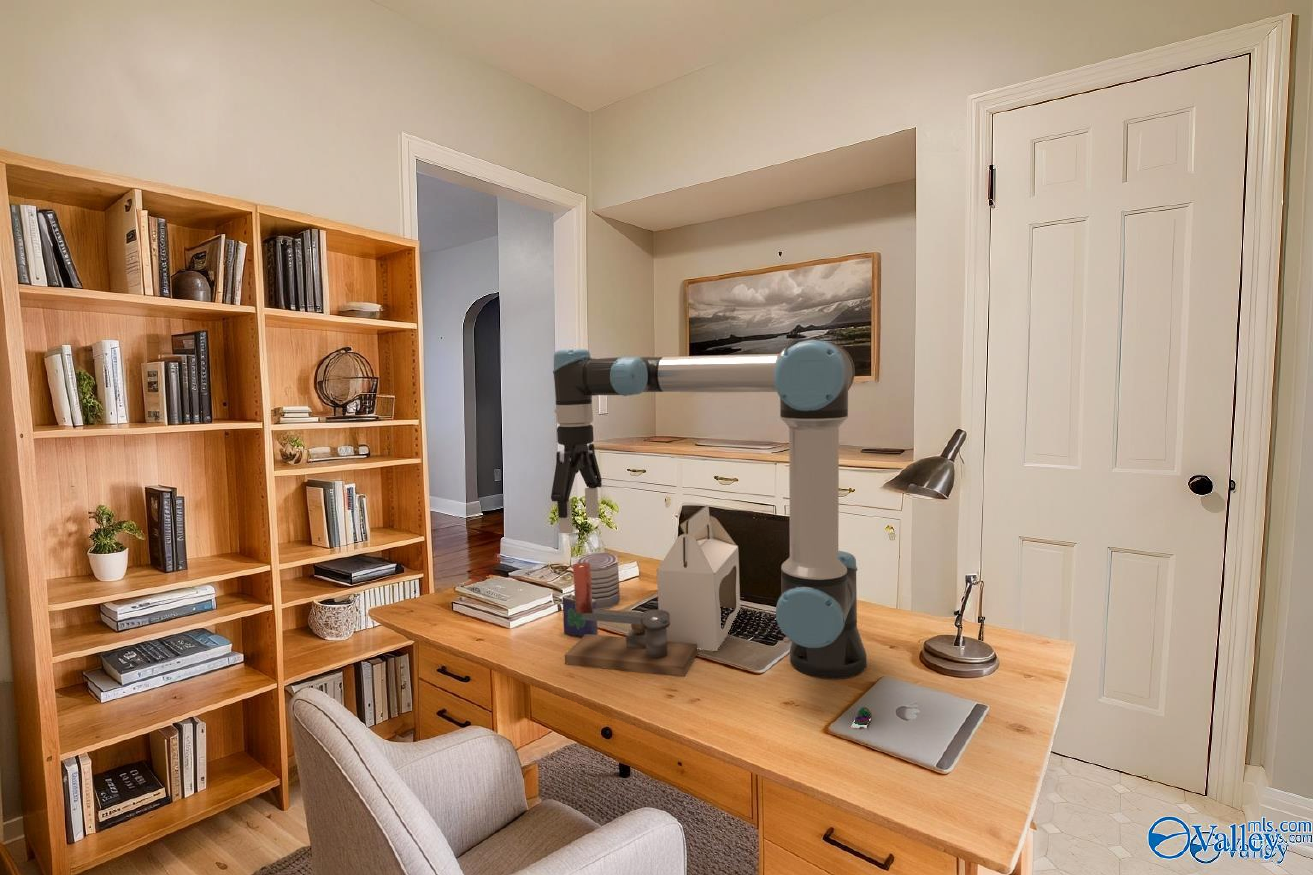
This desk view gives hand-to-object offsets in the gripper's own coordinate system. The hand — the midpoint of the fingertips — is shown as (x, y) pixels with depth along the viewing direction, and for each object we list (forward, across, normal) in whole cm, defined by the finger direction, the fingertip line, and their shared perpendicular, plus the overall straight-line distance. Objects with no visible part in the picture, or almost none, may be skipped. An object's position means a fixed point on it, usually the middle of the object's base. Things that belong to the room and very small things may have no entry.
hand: (579, 524), depth 138 cm
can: (+29, -31, -10) cm, 44 cm away
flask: (+29, -10, -6) cm, 31 cm away
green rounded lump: (+29, +14, +57) cm, 66 cm away
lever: (+20, 0, +9) cm, 22 cm away
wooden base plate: (+29, -1, +10) cm, 31 cm away
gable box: (+29, -19, +21) cm, 41 cm away
